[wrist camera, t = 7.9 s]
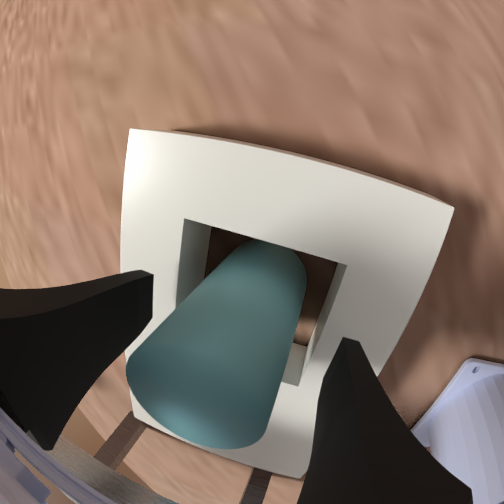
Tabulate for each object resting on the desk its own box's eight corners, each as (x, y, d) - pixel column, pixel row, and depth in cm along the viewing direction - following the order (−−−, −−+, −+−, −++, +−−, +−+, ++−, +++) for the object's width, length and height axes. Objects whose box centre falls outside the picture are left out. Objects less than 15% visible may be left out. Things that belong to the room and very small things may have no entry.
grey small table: (317, 403, 16) (276, 573, 6) (270, 476, 20) (233, 576, 10) (117, 327, 18) (5, 427, 8) (130, 420, 23) (68, 498, 13)
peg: (317, 252, 13) (286, 383, 6) (294, 325, 14) (250, 462, 7) (231, 228, 14) (119, 319, 6) (219, 301, 15) (132, 414, 8)
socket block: (429, 194, 10) (454, 207, 8) (307, 445, 17) (299, 478, 15) (169, 130, 13) (129, 128, 10) (154, 390, 20) (134, 416, 17)
